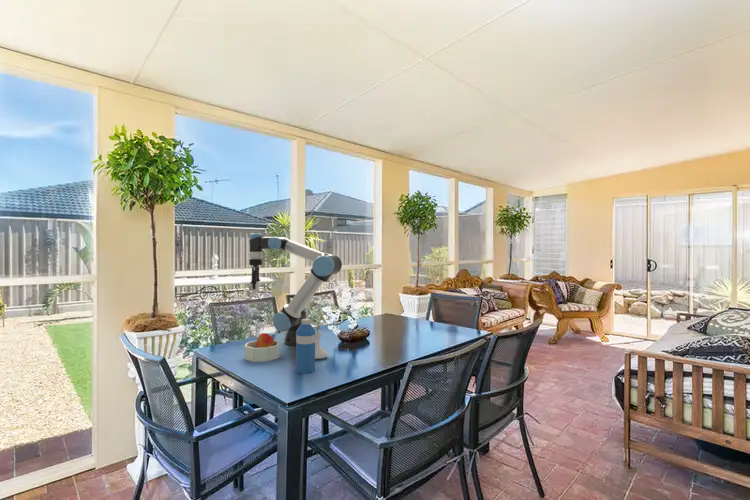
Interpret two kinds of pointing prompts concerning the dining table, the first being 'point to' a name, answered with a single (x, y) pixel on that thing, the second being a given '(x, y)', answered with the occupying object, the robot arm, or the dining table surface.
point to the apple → (265, 341)
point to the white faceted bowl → (261, 352)
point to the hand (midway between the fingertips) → (255, 293)
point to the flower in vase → (319, 351)
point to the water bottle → (305, 348)
